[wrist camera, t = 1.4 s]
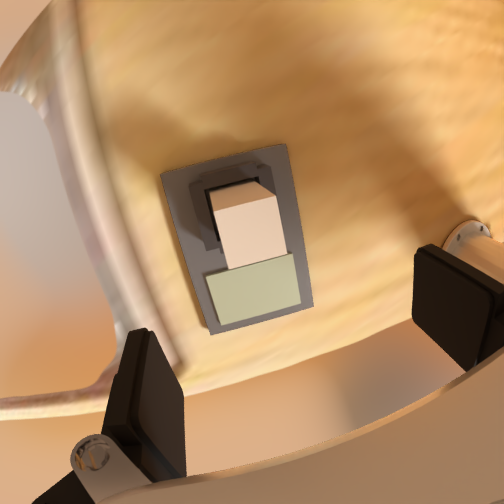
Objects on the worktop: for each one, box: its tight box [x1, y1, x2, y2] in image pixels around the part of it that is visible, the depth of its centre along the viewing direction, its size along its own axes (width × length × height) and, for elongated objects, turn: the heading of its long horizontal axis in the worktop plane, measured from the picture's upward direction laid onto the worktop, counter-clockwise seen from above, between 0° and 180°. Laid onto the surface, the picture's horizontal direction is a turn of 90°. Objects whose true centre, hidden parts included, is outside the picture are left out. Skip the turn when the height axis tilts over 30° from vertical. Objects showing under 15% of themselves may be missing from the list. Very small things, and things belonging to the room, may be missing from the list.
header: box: [160, 144, 314, 335], centre depth 30 cm, size 12×18×4 cm, turn 12°
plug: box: [209, 178, 287, 269], centre depth 24 cm, size 4×4×10 cm
